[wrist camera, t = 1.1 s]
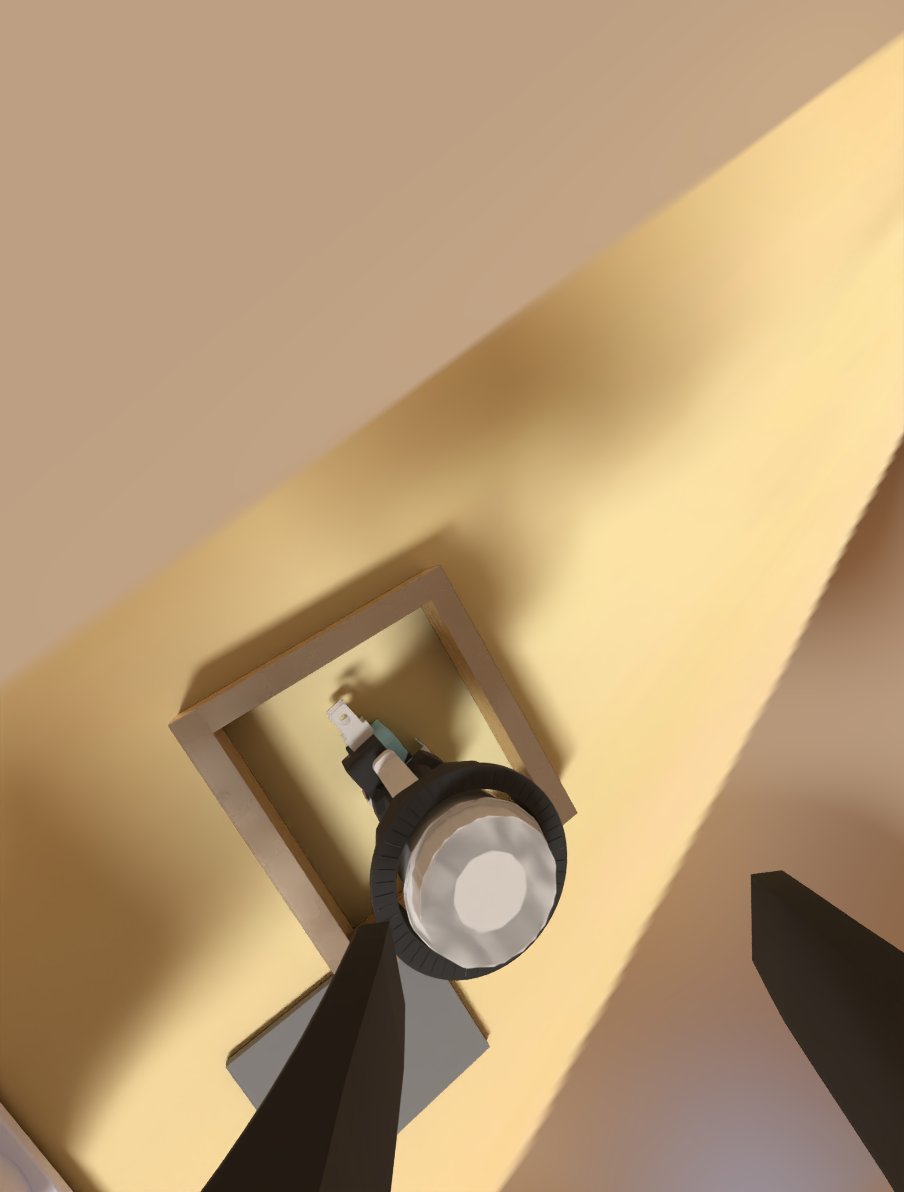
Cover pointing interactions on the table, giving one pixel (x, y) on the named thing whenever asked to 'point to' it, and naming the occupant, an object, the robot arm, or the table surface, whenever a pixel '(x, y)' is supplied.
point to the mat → (432, 1043)
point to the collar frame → (207, 717)
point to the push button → (455, 853)
